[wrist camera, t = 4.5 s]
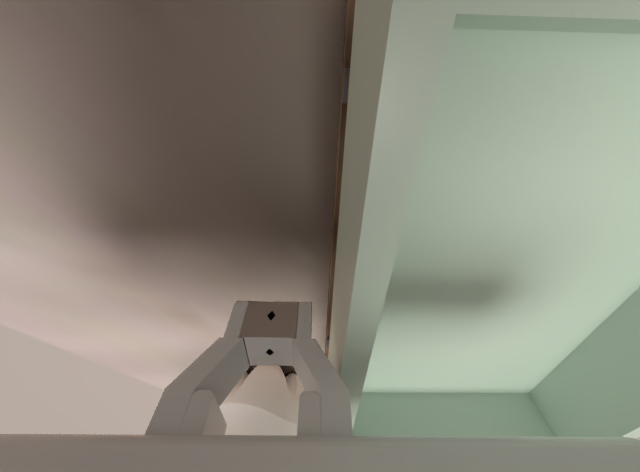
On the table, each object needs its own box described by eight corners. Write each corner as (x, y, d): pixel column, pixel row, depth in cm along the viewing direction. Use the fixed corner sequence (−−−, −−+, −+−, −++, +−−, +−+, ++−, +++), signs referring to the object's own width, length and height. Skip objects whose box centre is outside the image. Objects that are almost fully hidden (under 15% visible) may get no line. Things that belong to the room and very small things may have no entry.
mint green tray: (351, -9, 7) (404, -90, 3) (835, 7, 8) (1589, -42, 3) (325, 367, 19) (328, 468, 14) (516, 368, 19) (577, 468, 15)
